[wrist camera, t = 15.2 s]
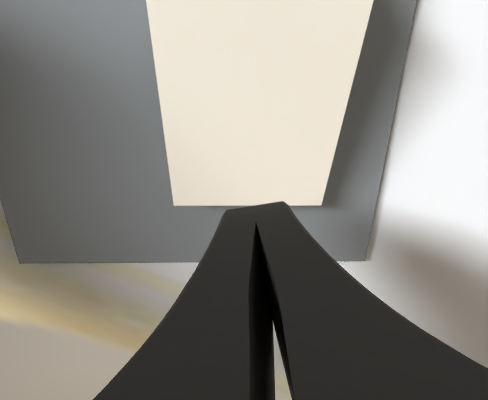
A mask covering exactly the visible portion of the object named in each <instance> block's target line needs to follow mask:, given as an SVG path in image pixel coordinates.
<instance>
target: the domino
mask: <svg viewBox="0 0 488 400" xmlns="http://www.w3.org/2000/svg"><path fill="white" fill-rule="evenodd" d="M373 1H374V0H146V4H147V11H148V19H149V26H150V33H151V41H152V48H153V56H154V63H155V71H156V78H157V85H158V93H159V100H160V108H161V115H162V122H163V130H164V137H165V145H166V152H167V160H168V167H169V174H170V182H171V189H172V197H173V204H174V206H254V205H261V204H267V203H274V202H280V201H284V202H285V203H286V204H288V205H289V206H305V205H322V201H323V197H324V193H325V189H326V185H327V181H328V177H329V173H330V169H331V165H332V161H333V158H334V154H335V150H336V146H337V142H338V138H339V134H340V130H341V126H342V122H343V118H344V114H345V110H346V107H347V103H348V99H349V95H350V91H351V87H352V83H353V79H354V75H355V71H356V67H357V63H358V59H359V56H360V52H361V48H362V44H363V40H364V36H365V32H366V28H367V24H368V20H369V16H370V12H371V9H372V5H373Z"/></svg>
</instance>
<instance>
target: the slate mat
mask: <svg viewBox="0 0 488 400" xmlns="http://www.w3.org/2000/svg"><path fill="white" fill-rule="evenodd" d="M416 2H417V0H374V1H373V5H372V9H371V12H370V16H369V20H368V24H367V28H366V32H365V36H364V40H363V44H362V48H361V52H360V56H359V59H358V63H357V67H356V71H355V75H354V79H353V83H352V87H351V91H350V95H349V99H348V103H347V107H346V110H345V114H344V118H343V122H342V126H341V130H340V134H339V138H338V142H337V146H336V150H335V154H334V158H333V161H332V165H331V169H330V173H329V177H328V181H327V185H326V189H325V193H324V197H323V201H322V205H305V206H289V207H290V208H291V210H292V212H293V213H294V214H295V216H296V217H297V219H298V220H299V221H300V223H301V224H302V225H303V226H304V227H305V229H306V230H307V231H308V232H309V233H310V235H311V236H312V237H313V238H314V239H315V240H316V241H317V242H318V243H319V244H320V245H321V247H322V248H323V249H324V250H325V251H326V252H327V253H328V254H329V255H330V256H331V257H332V258H333V259H334V260H335V261H365V257H366V252H367V247H368V242H369V237H370V232H371V227H372V222H373V217H374V212H375V207H376V202H377V197H378V192H379V187H380V182H381V177H382V172H383V167H384V162H385V157H386V152H387V147H388V142H389V137H390V132H391V127H392V122H393V117H394V112H395V107H396V102H397V97H398V92H399V87H400V82H401V77H402V72H403V67H404V62H405V57H406V52H407V47H408V42H409V37H410V32H411V27H412V22H413V17H414V12H415V7H416ZM0 199H1V202H2V206H3V209H4V212H5V216H6V219H7V222H8V226H9V229H10V233H11V236H12V239H13V243H14V246H15V249H16V253H17V256H18V259H19V263H154V262H200V261H201V259H202V257H203V255H204V253H205V252H206V250H207V248H208V246H209V244H210V242H211V240H212V238H213V236H214V234H215V232H216V229H217V227H218V225H219V222H220V220H221V217H222V215H223V214H224V212H225V211H226V210H228V209H235V208H241V207H248V206H174V204H173V197H172V189H171V182H170V174H169V167H168V160H167V152H166V145H165V137H164V130H163V122H162V115H161V108H160V100H159V93H158V85H157V78H156V71H155V63H154V56H153V48H152V41H151V33H150V26H149V19H148V11H147V4H146V0H0Z"/></svg>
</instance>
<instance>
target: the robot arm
mask: <svg viewBox="0 0 488 400" xmlns="http://www.w3.org/2000/svg"><path fill="white" fill-rule="evenodd" d="M273 323H274V327H275V331H276V336H277V340H278V344H279V348H280V352H281V356H282V360H283V364H284V368H285V373H286V377H287V381H288V385H289V389H290V393H291V397H292V400H488V368H486V367H484V366H482V365H480V364H478V363H476V362H475V361H473V360H471V359H470V358H468V357H466V356H465V355H463V354H461V353H460V352H458V351H456V350H455V349H453V348H451V347H450V346H448V345H447V344H445V343H443V342H442V341H440V340H438V339H437V338H435V337H434V336H432V335H430V334H429V333H427V332H425V331H424V330H422V329H420V328H419V327H418V326H416V325H415V324H413V323H412V322H410V321H409V320H408V319H406V318H405V317H403V316H402V315H400V314H399V313H397V312H396V311H395V310H393V309H392V308H391V307H389V306H388V305H387V304H385V303H384V302H383V301H381V300H380V299H379V298H377V297H376V296H375V295H374V294H372V293H371V292H370V291H369V290H368V289H366V288H365V287H364V286H363V285H362V284H360V283H359V282H358V281H357V280H356V279H355V278H353V277H352V276H351V275H350V274H349V273H348V272H347V271H346V270H345V269H344V268H342V267H341V266H340V265H339V264H338V263H337V262H336V261H335V260H334V259H333V258H332V257H331V256H330V255H329V254H328V253H327V252H326V251H325V250H324V249H323V248H322V247H321V245H320V244H319V243H318V242H317V241H316V240H315V239H314V238H313V237H312V236H311V235H310V233H309V232H308V231H307V230H306V229H305V227H304V226H303V225H302V224H301V223H300V221H299V220H298V219H297V217H296V216H295V214H294V213H293V212H292V210H291V208H290V207H289V205H288V204H286V203H285V202H284V201H280V202H274V203H267V204H261V205H254V206H248V207H241V208H235V209H228V210H226V211H225V212H224V214H223V215H222V217H221V220H220V222H219V225H218V227H217V229H216V232H215V234H214V236H213V238H212V240H211V242H210V244H209V246H208V248H207V250H206V252H205V253H204V255H203V257H202V259H201V261H200V263H199V264H198V266H197V268H196V270H195V272H194V273H193V275H192V277H191V278H190V280H189V281H188V283H187V284H186V286H185V287H184V289H183V291H182V292H181V294H180V295H179V297H178V298H177V300H176V302H175V303H174V304H173V306H172V307H171V309H170V310H169V312H168V313H167V314H166V316H165V317H164V318H163V320H162V321H161V322H160V324H159V325H158V326H157V328H156V329H155V330H154V332H153V333H152V334H151V335H150V337H149V338H148V339H147V340H146V342H145V343H144V344H143V345H142V347H141V348H140V349H139V350H138V351H137V352H136V353H135V355H134V356H133V357H132V358H131V359H130V360H129V362H128V363H127V364H126V365H125V366H124V367H123V368H122V369H121V370H120V372H119V373H118V374H117V375H116V376H115V377H114V378H113V379H112V380H111V381H110V382H109V384H108V385H107V386H106V387H105V388H104V389H103V390H102V391H101V392H100V393H99V394H98V395H97V396H96V397H95V398H94V399H93V400H275V378H274V345H273Z"/></svg>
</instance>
